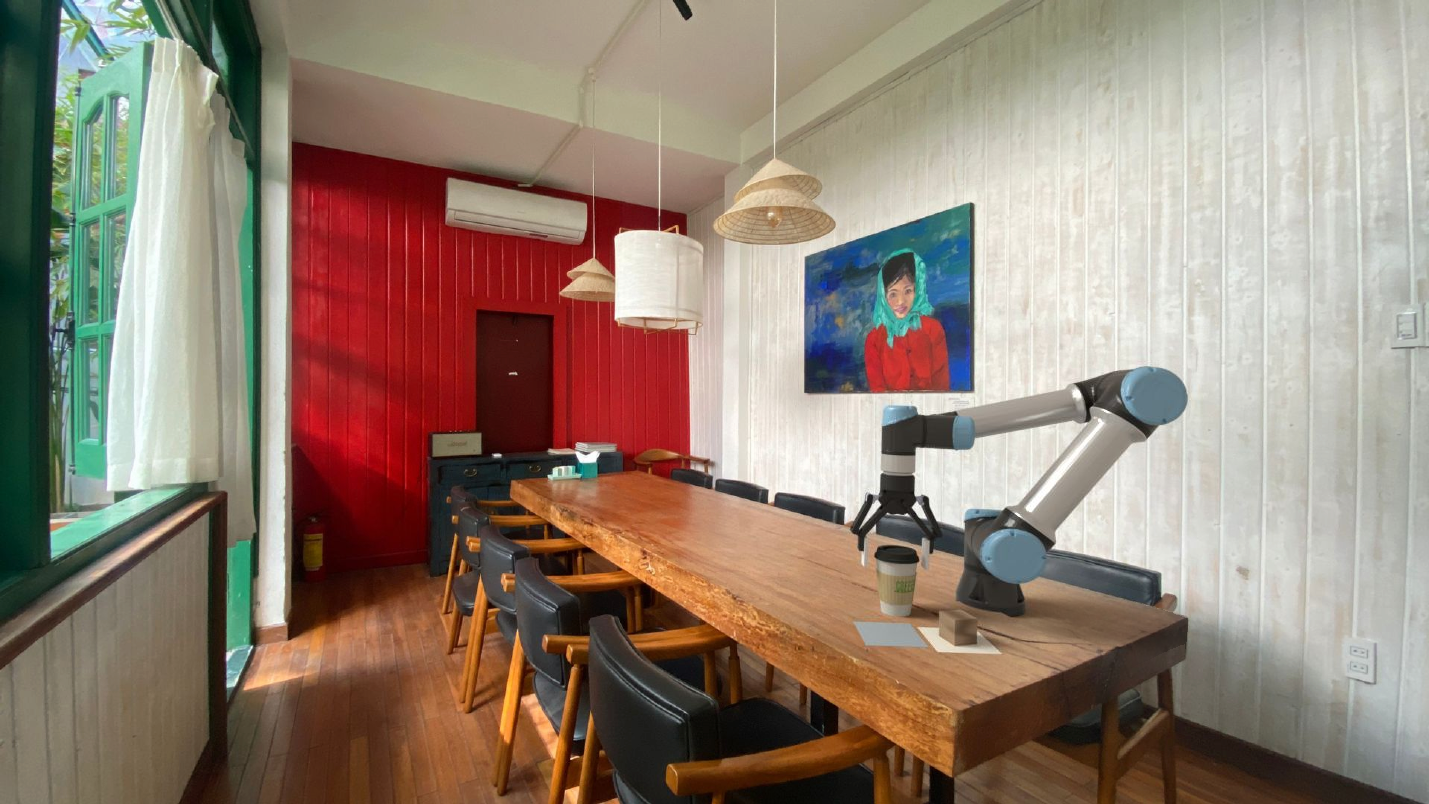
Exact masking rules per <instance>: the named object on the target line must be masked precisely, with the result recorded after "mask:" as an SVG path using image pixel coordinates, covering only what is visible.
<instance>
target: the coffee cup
mask: <svg viewBox="0 0 1429 804" xmlns="http://www.w3.org/2000/svg"><path fill="white" fill-rule="evenodd" d="M873 557H874V558H875V559H876V560H875V561H876V568H875V569H876V570H875V571H876V578H877V580H876V581H877V589H878V598H879V603H880V611H881V612H882V613H883V614H884V615H888V616H889V617H891V616H892V617H895V618H896V617H898V618H905V617H909V616H910V615H911V612H912V611H911V610H912V607H913V606H912V605H913V601H914V596H915V588H916V582H917V575H918V574H917V573H918V572H917V567H918V563H919V562H920V560H921V559H920V557H919V555H918V552H917V550H916V549H915V548H912V547H909V546H904V545H897V544H885V545H879V546H877V548H876V551H875V552H874V555H873Z"/></svg>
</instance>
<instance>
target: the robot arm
mask: <svg viewBox="0 0 1429 804" xmlns="http://www.w3.org/2000/svg"><path fill="white" fill-rule="evenodd" d="M1188 399H1189V396H1188V393H1187V387H1186V385H1185V383H1184V382H1183V380H1182V379H1181V378H1180V377H1179V376H1178V375H1177V374H1176V373H1174V372H1172V371H1171V370H1169V369H1166V368H1163V367H1159V366H1150V365H1149V366H1148V365H1147V366H1138V367H1135V368H1131V369H1122V370H1113V371H1110V372H1108V373H1104V374H1101V375H1098V376H1095V377H1091V378H1089V379H1085V380H1082V381H1081V380H1080V381H1077V382H1071V383H1069V384H1067V385H1066V387H1065V388H1064V389H1059V390H1053V391H1049V392H1048V391H1047V392H1044V393H1039V394H1038V393H1037V394H1034V395H1029V396H1023V397H1018V398H1013V399H1008V400H1004V401H999V402H998V401H997V402H993V403H992V402H991V403H987V404H982V405H979V406H973V407H972V406H971V407H967V408H962V409H958V410H954V411H947V412H942V413H937V414H936V413H932V414H928V415H926V414H919V412H918V407H916V406H915V405H900V404H899V405H898V404H896V405H892V404H891V405H890V404H889V405H888V404H887V405H886V406H885V407H884V408H883V409H882V410H883V411H882V418H881V421H882V422H881V443H880V444H881V446H880V447H881V451H880V471H881V474H880V476H879V493H878V494H873V493H870V492H866V493H865V495H864V502H863V503H862V506H861V507H860V509H859V511H858V513H857V515H856V517H855V518H854V520H853V522H852V524H851V526H850V528H849V531H850V533H852V534H853V535H856V536H857V550H858V551H859V552H861V565H862V566H863V567H864V568H869V567H868V563H869V562H868V561H869V538H868V536H867V535H868V533H870V532H871V530H873V529H874V527H875V526H876V525H877V524H878V523H879V521H881V520H882V518H884V517H886V515H887V514H889V515H893V516H894V515H900V516H905V515H908V516H909V517H910V518H911V520H912V521H913V523H915V525H916V526H917V527H918V528H919V531H921V532H922V534H923V535H924V536H925V537H922V538H921V564H920V565H921V568H923V569H924V570H926V571H929V570H930V569H929V568H930V555H933V554H934V544H935V541H936V539H938V538H939V539H942V538H943V536H944V535H943V532H942V530H941V527H940V525H939V524H938V521H937V519H936V517H935V515H934V513H933V510H932V508H931V506H930V498H929V496H927V495H926V494H921V495H916V494H915V493H916V492H915V490H916V489H915V488H916V476H915V475H914V474H915V473H916V460H917V459H916V453H917V452H916V451H917V448H918V449H919V448H920V449H937V450H951V451H952V450H954V451H961V450H962V451H969V450H971V449H972V448H973V447H974V445H975V441H976V439H979V438H985V437H990V436H991V437H992V436H995V435H1002V434H1007V433H1012V432H1018V431H1022V430H1029V429H1034V428H1035V429H1036V428H1039V427H1040V428H1041V427H1045V426H1051V425H1058V424H1064V423H1069V422H1075V423H1077V424H1080V425H1081V424H1085V423H1086V425H1085V426H1084V427H1083V428H1082V429H1081V430H1080V432H1079V433H1078V434H1077V435H1076V436H1075V437H1074V439H1073V440H1072V441H1071V442H1070V443H1069V445H1068V446H1067V447H1066V448H1065V449H1064V450H1063V452H1062V453H1060V455H1059V456H1058V458H1056V460H1055V461H1054V462H1053V463H1052V464H1051V465H1050V467H1049V468H1048V469H1047V470H1046V471H1045V473H1044V474H1043V475H1042V476H1041V477H1040V478H1039V480H1037V482H1036V483H1035V484H1034V485H1033V487H1032V488H1031V489H1030V490H1029V491H1028V493H1026V495H1025V496H1024V497H1023V498H1022V499H1021V501H1020V502H1019V503H1017V504H1016V505H1008V506H1006V507H1004V508H1003V509H990V508H989V509H987V508H968V509H966V511H965V513H964V520H963V523H964V536H963V537H964V539H963V542H964V544H963V545H964V549H963V552H964V553H963V571H962V573H961V577H960V578H959V581H958V584H957V587H956V590H955V602H960V603H961V604H964V605H965V606H968V607H970V608H974V609H978V610H983V611H987V612H991V613H992V612H993V613H994V612H995V613H1002V614H1004V615H1006V616H1007V617H1015V616H1021V615H1022V614H1024V613H1025V612H1026V604H1027V603H1026V598H1025V596H1024V591H1023V589H1022V587H1021V584H1027V583H1031V582H1032V581H1035V580H1036V579H1037V578H1039V577H1040V576H1041V575H1042V573H1043V572H1044V570H1045V569H1046V566H1047V562H1048V560H1047V558H1048V556H1047V555H1048V553H1049V552H1050V551H1051V550H1052V548H1053V547H1055V545H1056V544H1057V538H1056V531H1057V530H1058V529H1059V527H1060V526H1062V524H1063V523H1064V522H1065V521H1066V520H1067V519H1068V517H1069V516H1070V515H1071V514H1072V513H1073V511H1074V510H1075V509H1076V508H1077V507H1078V506H1079V505H1080V503H1081V502H1082V501H1083V500H1084V499H1085V497H1087V496H1088V494H1089V493H1090V492H1091V491H1092V490H1093V488H1094V487H1095V486H1096V485H1097V484H1098V483H1099V482H1100V481H1101V480H1102V478H1103V477H1104V476H1105V475H1106V474H1107V473H1108V471H1109V470H1111V468H1112V467H1113V466H1114V464H1115V463H1116V462H1118V460H1119V459H1120V457H1122V456H1123V454H1124V453H1125V452H1127V450H1128V449H1129V448H1130V446H1131V445H1132V444H1136V443H1143V442H1144V443H1146V441H1147V440H1149V439H1148V438H1150V437H1151V435H1152V434H1153V433H1155V431H1156V430H1157V429H1158V428H1159V426H1165V425H1167V424H1170V423H1172V422H1175V420H1177V419H1179V418H1180V417H1181V416H1182V414H1183V413H1184V412H1185V410H1186V408H1187V405H1188V402H1189V401H1188ZM877 501H878V503H879V504H880V505H879V506H878V508H877V509H876V510H875V512H874V513H873V514H872V515H871V516H870V518H868V520H867V521H866V522H864V521H865V519H866V517H867V516H868V514H869V512H870V510H871V508H872V507H873V506H872V505H873V504H875V503H876V502H877ZM916 503H917V504H918V505H919V506H921V509H922V511H923V513H924V515H925V518H926V520H927V522H928V524H929V526H930V528H931V530H932V531H931V530H930V529H929V528H928V526H927V525H926V524H925V523H924V521H923V520H922V519H921V518H920V517H919V515H918V513H917V512H916V511H915V509H914V508H913V506H915V504H916Z"/></svg>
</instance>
